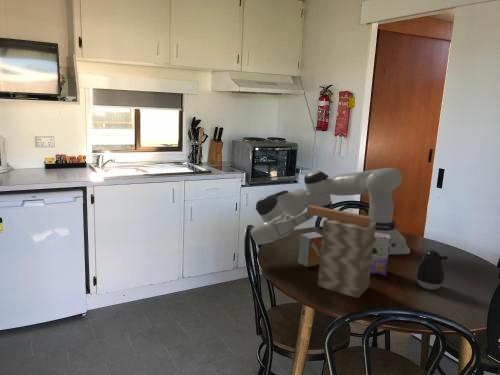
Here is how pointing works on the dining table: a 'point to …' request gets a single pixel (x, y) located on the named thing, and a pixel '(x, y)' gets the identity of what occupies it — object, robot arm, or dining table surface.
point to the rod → (338, 215)
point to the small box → (310, 249)
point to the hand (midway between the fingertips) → (311, 214)
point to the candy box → (380, 253)
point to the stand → (346, 257)
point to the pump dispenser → (431, 270)
